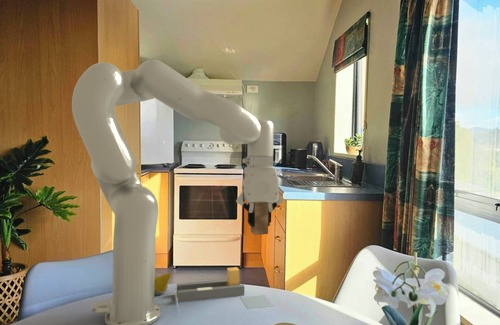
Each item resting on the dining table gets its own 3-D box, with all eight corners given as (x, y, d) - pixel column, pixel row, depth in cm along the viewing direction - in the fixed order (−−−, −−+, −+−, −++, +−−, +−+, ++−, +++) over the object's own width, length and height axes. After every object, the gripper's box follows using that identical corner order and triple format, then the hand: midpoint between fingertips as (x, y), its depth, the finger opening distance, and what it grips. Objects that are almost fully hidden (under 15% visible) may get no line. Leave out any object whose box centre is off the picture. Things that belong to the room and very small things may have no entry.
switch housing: (178, 303, 87) (178, 292, 87) (176, 294, 93) (176, 283, 93) (244, 297, 92) (244, 285, 92) (238, 288, 98) (238, 278, 98)
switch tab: (228, 289, 93) (229, 270, 93) (226, 286, 95) (227, 268, 95) (239, 288, 94) (239, 270, 94) (236, 285, 96) (237, 267, 96)
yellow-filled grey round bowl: (163, 289, 98) (181, 270, 94) (156, 303, 93) (176, 285, 89) (148, 279, 97) (166, 260, 93) (140, 293, 92) (160, 274, 88)
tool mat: (247, 310, 84) (247, 308, 84) (240, 299, 91) (240, 297, 91) (273, 307, 86) (273, 305, 86) (264, 296, 93) (264, 295, 93)
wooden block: (254, 234, 94) (255, 199, 94) (250, 231, 98) (251, 197, 97) (268, 234, 95) (268, 199, 95) (263, 231, 99) (264, 197, 99)
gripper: (235, 162, 90) (234, 229, 90) (292, 163, 95) (291, 226, 95) (229, 162, 97) (228, 224, 97) (282, 162, 102) (281, 222, 102)
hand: (259, 224), depth 96 cm, fingers closed on wooden block, 4 cm apart
